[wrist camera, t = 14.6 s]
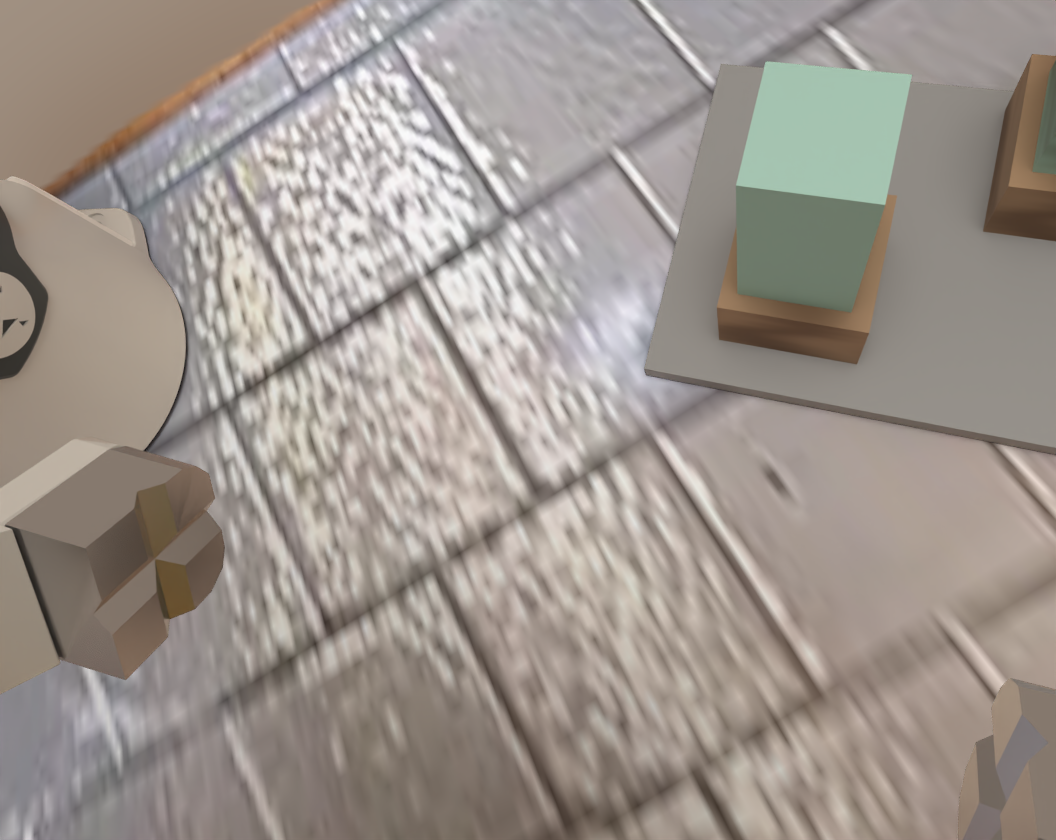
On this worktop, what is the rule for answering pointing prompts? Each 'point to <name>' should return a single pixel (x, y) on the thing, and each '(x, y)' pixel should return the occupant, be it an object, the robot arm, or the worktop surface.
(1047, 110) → the tower
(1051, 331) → the board
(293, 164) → the worktop surface
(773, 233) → the pillar
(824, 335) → the base block
